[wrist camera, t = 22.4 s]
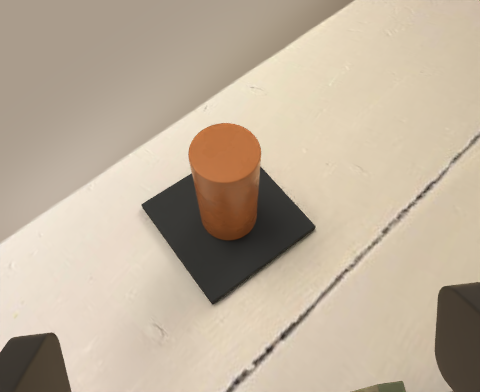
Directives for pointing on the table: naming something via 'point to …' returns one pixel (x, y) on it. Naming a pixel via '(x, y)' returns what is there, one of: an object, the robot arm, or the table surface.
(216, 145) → the spice tin
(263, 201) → the mat
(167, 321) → the table surface
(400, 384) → the drawer
